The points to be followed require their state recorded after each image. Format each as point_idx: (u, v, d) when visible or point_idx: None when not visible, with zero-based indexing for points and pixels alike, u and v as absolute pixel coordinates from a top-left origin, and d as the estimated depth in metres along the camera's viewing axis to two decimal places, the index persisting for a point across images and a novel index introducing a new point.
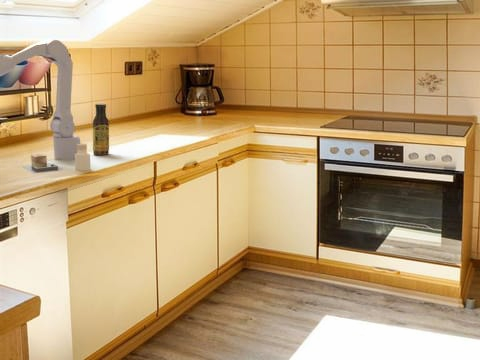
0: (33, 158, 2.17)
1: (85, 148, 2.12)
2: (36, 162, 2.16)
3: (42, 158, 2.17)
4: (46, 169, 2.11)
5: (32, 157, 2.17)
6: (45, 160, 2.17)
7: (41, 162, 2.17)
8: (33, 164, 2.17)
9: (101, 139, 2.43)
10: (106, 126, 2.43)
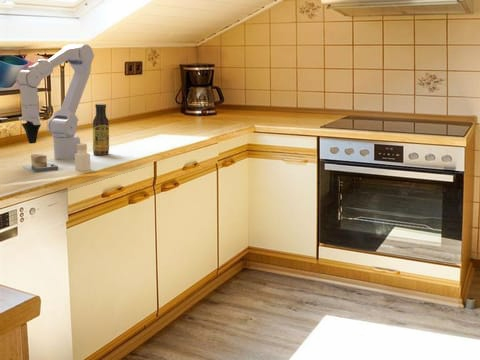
0: (33, 158, 2.17)
1: (85, 148, 2.12)
2: (36, 162, 2.16)
3: (42, 158, 2.17)
4: (46, 169, 2.11)
5: (32, 157, 2.17)
6: (45, 160, 2.17)
7: (41, 162, 2.17)
8: (33, 164, 2.17)
9: (101, 139, 2.43)
10: (106, 126, 2.43)
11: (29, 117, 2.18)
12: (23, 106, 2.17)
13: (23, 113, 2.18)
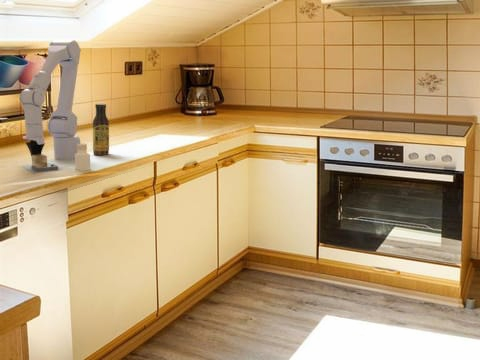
0: (33, 158, 2.16)
1: (85, 148, 2.12)
2: (37, 162, 2.15)
3: (43, 158, 2.16)
4: (46, 169, 2.11)
5: (32, 157, 2.17)
6: (45, 160, 2.17)
7: (41, 162, 2.16)
8: (34, 164, 2.17)
9: (101, 139, 2.43)
10: (106, 126, 2.43)
11: (33, 136, 2.16)
12: (27, 125, 2.16)
13: (27, 132, 2.17)
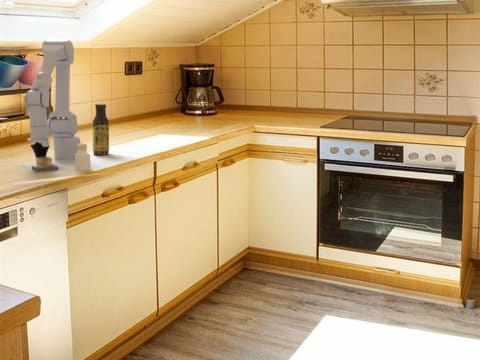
0: (38, 161, 2.12)
1: (85, 148, 2.12)
2: (42, 165, 2.11)
3: (48, 161, 2.12)
4: (46, 169, 2.11)
5: (37, 160, 2.13)
6: (50, 163, 2.12)
7: (46, 165, 2.12)
8: (39, 167, 2.12)
9: (101, 139, 2.43)
10: (106, 126, 2.43)
11: (38, 138, 2.12)
12: (32, 127, 2.11)
13: (32, 134, 2.12)
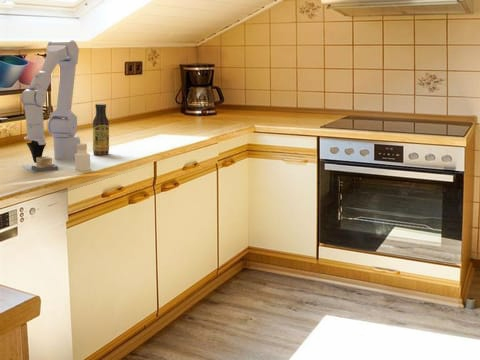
0: (38, 161, 2.12)
1: (85, 148, 2.12)
2: (42, 165, 2.11)
3: (48, 161, 2.12)
4: (46, 169, 2.11)
5: (37, 160, 2.13)
6: (50, 163, 2.12)
7: (46, 165, 2.12)
8: (39, 167, 2.12)
9: (101, 139, 2.43)
10: (106, 126, 2.43)
11: (34, 137, 2.15)
12: (28, 126, 2.15)
13: (28, 133, 2.16)
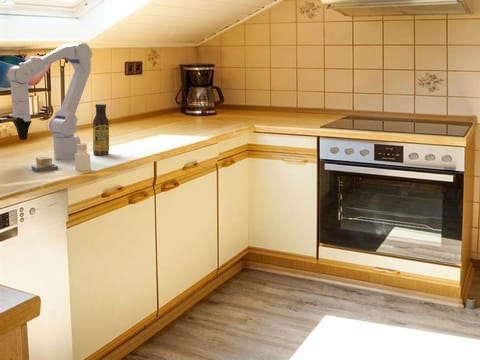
0: (38, 161, 2.12)
1: (85, 148, 2.12)
2: (42, 165, 2.11)
3: (48, 161, 2.12)
4: (46, 169, 2.11)
5: (37, 160, 2.13)
6: (50, 163, 2.12)
7: (46, 165, 2.12)
8: (39, 167, 2.12)
9: (101, 139, 2.43)
10: (106, 126, 2.43)
11: (20, 114, 2.17)
12: (14, 103, 2.17)
13: (14, 110, 2.17)
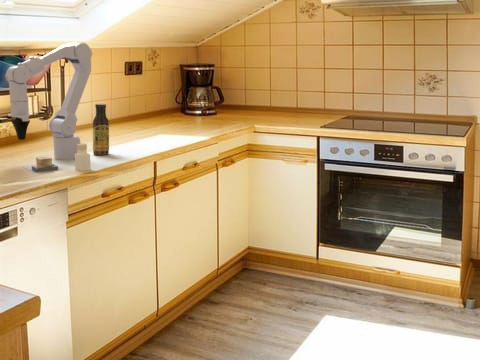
0: (38, 161, 2.12)
1: (85, 148, 2.12)
2: (42, 165, 2.11)
3: (48, 161, 2.12)
4: (46, 169, 2.11)
5: (37, 160, 2.13)
6: (50, 163, 2.12)
7: (46, 165, 2.12)
8: (39, 167, 2.12)
9: (101, 139, 2.43)
10: (106, 126, 2.43)
11: (18, 113, 2.18)
12: (12, 102, 2.17)
13: (12, 109, 2.18)
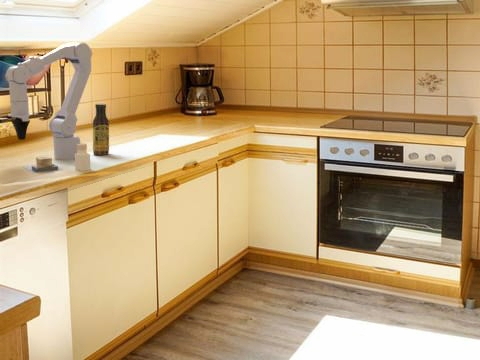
0: (38, 161, 2.12)
1: (85, 148, 2.12)
2: (42, 165, 2.11)
3: (48, 161, 2.12)
4: (46, 169, 2.11)
5: (37, 160, 2.13)
6: (50, 163, 2.12)
7: (46, 165, 2.12)
8: (39, 167, 2.12)
9: (101, 139, 2.43)
10: (106, 126, 2.43)
11: (18, 113, 2.18)
12: (12, 102, 2.17)
13: (12, 109, 2.18)
